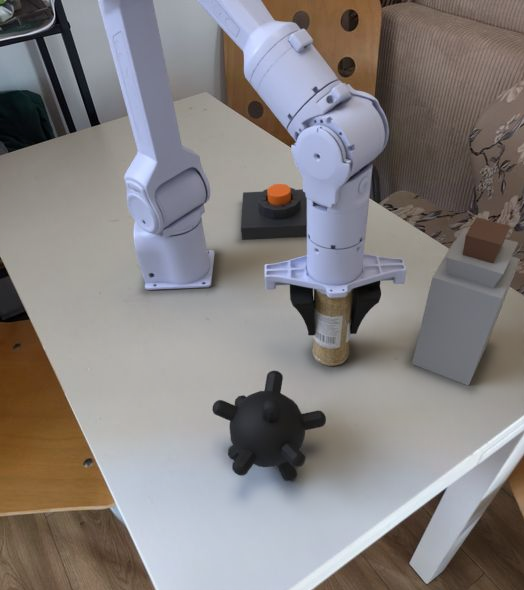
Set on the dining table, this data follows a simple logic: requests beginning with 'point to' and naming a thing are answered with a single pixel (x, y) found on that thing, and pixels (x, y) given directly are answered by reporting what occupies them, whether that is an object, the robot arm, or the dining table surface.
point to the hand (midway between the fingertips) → (331, 328)
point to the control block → (273, 216)
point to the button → (279, 194)
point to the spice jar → (331, 327)
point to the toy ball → (267, 429)
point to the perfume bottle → (466, 301)
